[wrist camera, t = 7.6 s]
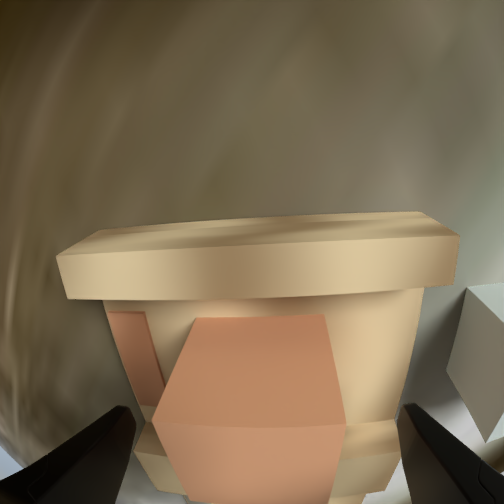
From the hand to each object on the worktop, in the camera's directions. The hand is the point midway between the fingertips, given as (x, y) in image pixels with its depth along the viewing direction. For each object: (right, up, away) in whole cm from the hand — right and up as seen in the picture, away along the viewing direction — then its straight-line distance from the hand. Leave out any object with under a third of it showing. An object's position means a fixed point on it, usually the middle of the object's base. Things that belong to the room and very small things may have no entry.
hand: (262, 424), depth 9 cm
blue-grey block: (+11, +2, +3) cm, 12 cm away
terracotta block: (0, +1, +3) cm, 3 cm away
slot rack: (+1, -4, +6) cm, 7 cm away
